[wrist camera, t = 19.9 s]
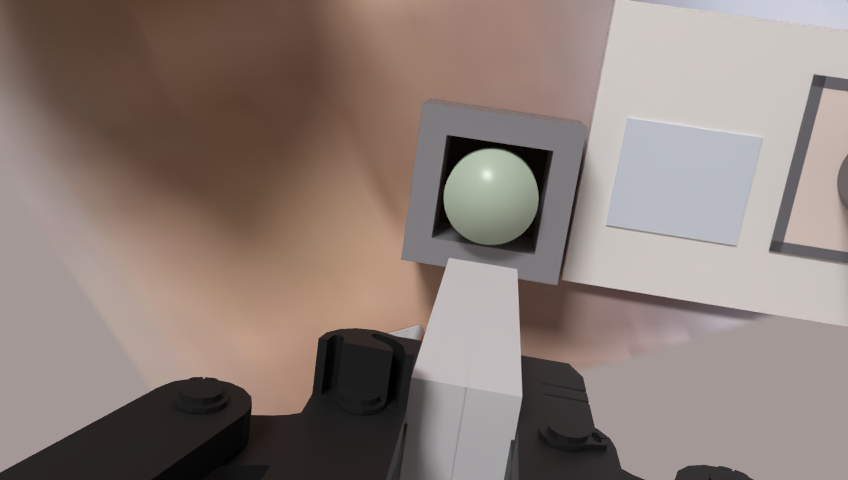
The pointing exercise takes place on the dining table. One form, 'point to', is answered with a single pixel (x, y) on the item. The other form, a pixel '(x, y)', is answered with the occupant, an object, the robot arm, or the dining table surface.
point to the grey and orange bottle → (843, 181)
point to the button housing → (449, 119)
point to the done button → (491, 196)
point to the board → (717, 163)
